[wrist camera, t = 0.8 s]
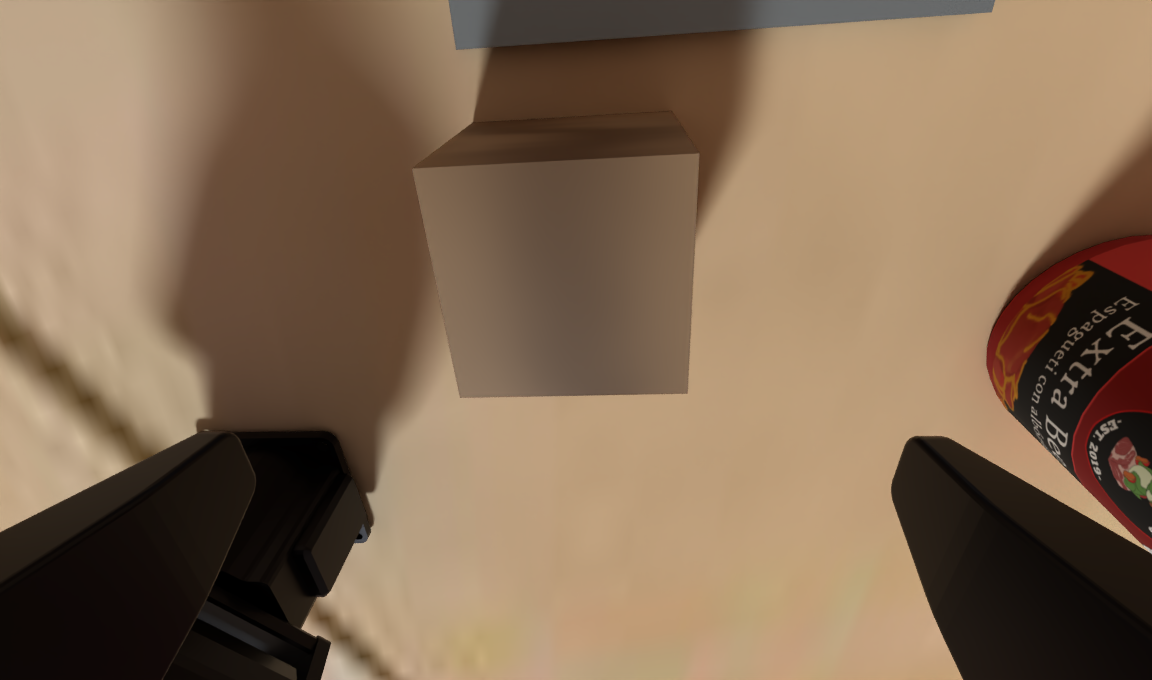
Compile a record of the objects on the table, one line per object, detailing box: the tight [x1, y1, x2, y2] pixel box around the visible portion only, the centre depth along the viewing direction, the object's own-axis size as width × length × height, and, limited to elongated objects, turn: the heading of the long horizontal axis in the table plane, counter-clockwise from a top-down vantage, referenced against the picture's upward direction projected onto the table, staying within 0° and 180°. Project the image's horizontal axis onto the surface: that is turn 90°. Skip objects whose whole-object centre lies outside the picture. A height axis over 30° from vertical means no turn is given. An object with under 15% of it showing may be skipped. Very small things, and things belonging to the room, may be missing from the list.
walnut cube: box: [412, 111, 699, 398], centre depth 15 cm, size 6×6×6 cm
